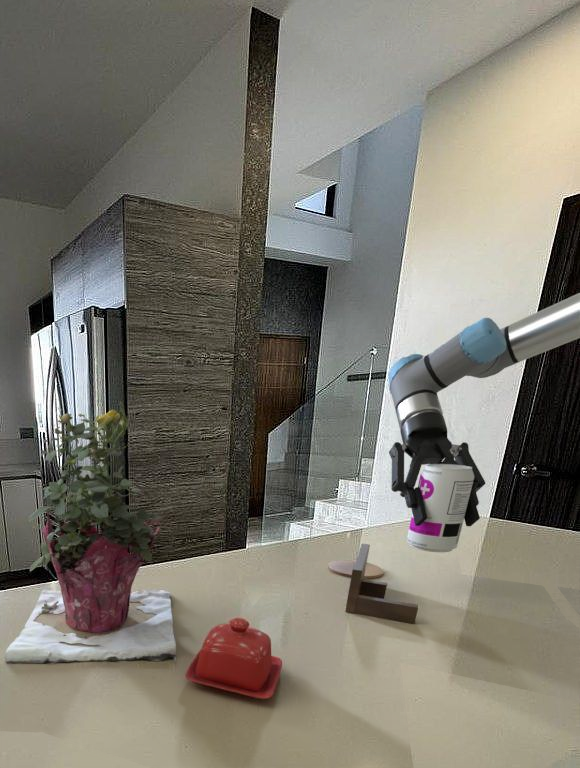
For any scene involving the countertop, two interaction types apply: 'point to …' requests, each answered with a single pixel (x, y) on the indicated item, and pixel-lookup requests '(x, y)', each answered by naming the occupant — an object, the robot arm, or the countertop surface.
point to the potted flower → (95, 562)
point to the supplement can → (441, 507)
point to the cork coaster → (347, 566)
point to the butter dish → (237, 661)
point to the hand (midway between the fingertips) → (447, 522)
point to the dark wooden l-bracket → (374, 595)
